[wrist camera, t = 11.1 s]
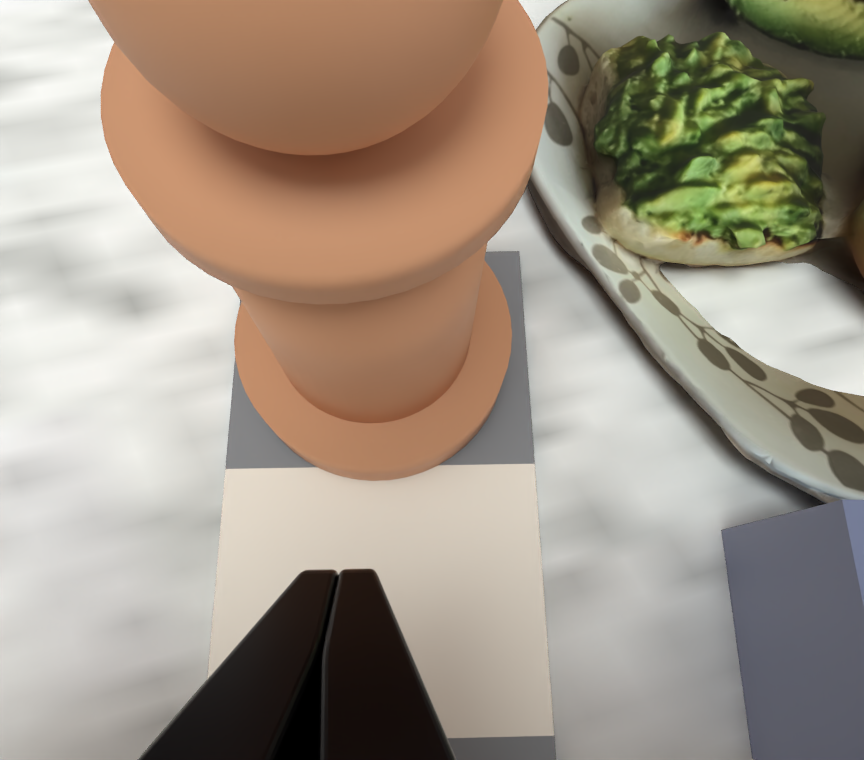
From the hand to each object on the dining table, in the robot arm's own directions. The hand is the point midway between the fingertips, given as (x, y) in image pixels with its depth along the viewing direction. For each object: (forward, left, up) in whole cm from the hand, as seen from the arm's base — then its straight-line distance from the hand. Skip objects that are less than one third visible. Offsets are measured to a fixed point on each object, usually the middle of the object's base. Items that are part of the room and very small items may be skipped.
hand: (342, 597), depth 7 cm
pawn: (+4, -4, -7) cm, 9 cm away
